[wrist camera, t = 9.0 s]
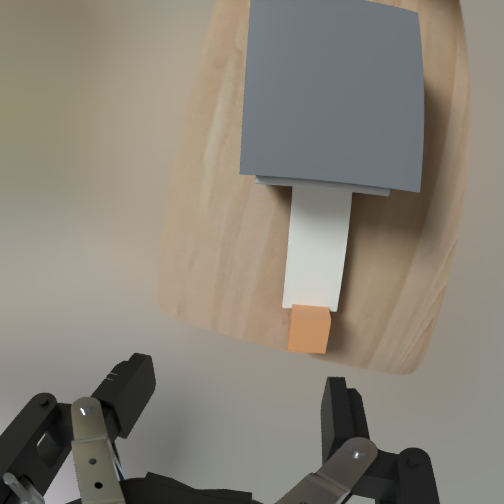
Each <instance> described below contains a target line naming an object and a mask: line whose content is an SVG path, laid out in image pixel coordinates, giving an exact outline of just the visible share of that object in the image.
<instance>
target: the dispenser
mask: <svg viewBox="0 0 504 504" xmlns="http://www.w3.org/2000/svg"><path fill="white" fill-rule="evenodd" d="M423 142H424V78H423V60H422V47H421V36H420V27H419V19H418V13H417V12H413V11H409V10H406V9H402V8H398V7H394V6H389V5H385V4H380V3H375V2H370V1H365V0H251V4H250V17H249V30H248V44H247V59H246V74H245V89H244V105H243V122H242V139H241V157H240V174H244V175H256V184H268V185H282V186H294V187H306V188H317V189H327V190H337V191H346V192H355V193H364V194H372V195H380V196H389V194H390V188H391V189H398V190H404V191H411V192H417V193H420V186H421V175H422V161H423Z"/></svg>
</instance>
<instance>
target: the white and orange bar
mask: <svg viewBox="0 0 504 504" xmlns="http://www.w3.org/2000/svg"><path fill="white" fill-rule="evenodd" d="M351 201H352V192H346V191H337V190H327V189H317V188H306V187H294V186H293V188H292V202H291V215H290V228H289V240H288V252H287V263H286V274H285V285H284V295H283V305H282V307H283V308H291V311H290V320H289V329H288V348H287V351H294V352H307V353H322V354H325V351H326V346H327V341H328V336H329V330H330V325H331V317H330V312H329V311H332V312H337V306H338V300H339V294H340V288H341V281H342V275H343V268H344V261H345V253H346V246H347V238H348V229H349V221H350V211H351Z"/></svg>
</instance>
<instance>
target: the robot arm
mask: <svg viewBox="0 0 504 504" xmlns="http://www.w3.org/2000/svg"><path fill="white" fill-rule="evenodd" d="M155 386H156V379H155V374H154V368H153V363H152V358H151V356H150V355H145V354H139V353H134V354H133V355H132V356H131V358H130V359H129V360H128V361H122V362H121V363H119V364H117V365H116V366H115V367H114V368H113V370H112V371H111V372H110V374H108V375H107V377H106V379H104V380H103V382H102V383H101V384H100V385H99V387H98V388H97V389H96V390H95V392H94V393H93V394H92V396H90V397H82V398H79V399H77V400H76V401H74V402H73V404H64V403H57V401H56V398H55V397H54V395H52V394H50V393H39V394H37V395H35V396H34V397H33V398H32V399H31V400H30V401H29V402H28V403H27V405H26V406H25V407H24V408H23V409H22V410H21V412H20V413H19V414H18V415H17V416H16V418H15V419H14V420H13V421H12V422H11V424H10V425H9V426H8V427H7V428H6V430H5V431H4V432H3V433H2V435H1V436H0V504H45V501H44V498H43V496H44V495H45V493H46V491H47V489H48V488H49V486H50V484H51V482H52V481H53V479H54V478H55V476H56V474H57V473H58V471H59V469H60V468H61V466H62V464H63V463H64V461H65V459H66V458H67V456H68V454H69V453H70V451H71V450H72V453H73V459H74V465H75V471H76V476H77V481H78V487H79V491H80V496H81V498H79V499H77V500H74V501H72V502H69V503H66V504H263V503H260V502H258V501H256V500H253V499H252V493H251V492H243V491H235V490H228V489H208V490H207V489H205V490H199V489H194V488H192V487H190V486H187V485H185V484H183V483H181V482H179V481H177V480H175V479H173V478H169V477H165V476H162V475H158V474H154V473H151V472H148V473H147V475H146V477H145V478H130V479H127V478H126V475H125V473H124V469H123V466H122V463H121V460H120V456H119V453H118V450H117V447H116V443H115V439H116V438H117V436H119V437H122V438H124V439H126V438H127V437H128V435H129V433H130V432H131V430H132V428H133V426H134V425H135V423H136V421H137V420H138V418H139V416H140V414H141V413H142V411H143V409H144V408H145V406H146V404H147V403H148V401H149V399H150V398H151V396H152V394H153V393H154V390H155ZM321 432H322V467H321V468H320V469H319V470H318V471H317V472H316V473H310V474H308V475H307V476H306V477H305V478H303V479H302V480H301V481H300V482H299V483H298V484H297V485H296V486H295V487H294V488H293V489H291V490H290V491H289V492H288V493H287V494H285V495H284V496H283V497H282V498H281V499H280V500H278V501H277V502H276V503H275V504H347V503H348V501H349V500H350V499H351V498H352V497H353V496H354V495H358V496H362V497H367V498H372V499H375V504H440V503H439V497H438V492H437V487H436V482H435V478H434V473H433V469H432V465H431V460H430V457H429V455H428V454H427V453H426V452H425V451H423V450H422V449H419V448H407V449H405V450H403V451H402V452H400V454H394V453H389V452H384V451H381V450H379V449H378V448H377V447H376V445H375V444H374V443H373V442H372V441H370V437H369V432H368V427H367V421H366V417H365V414H364V407H363V402H362V397H361V395H360V394H359V393H358V392H357V390H356V389H355V388H354V389H353V388H352V389H350V388H347V387H346V381H345V378H344V377H328V378H327V381H326V385H325V391H324V395H323V399H322V404H321ZM44 433H45V437H44V438H43V439H42V441H41V442H40V444H39V445H38V446H37V444H38V442H39V440H40V439H41V438H42V436H43V435H44Z"/></svg>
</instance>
